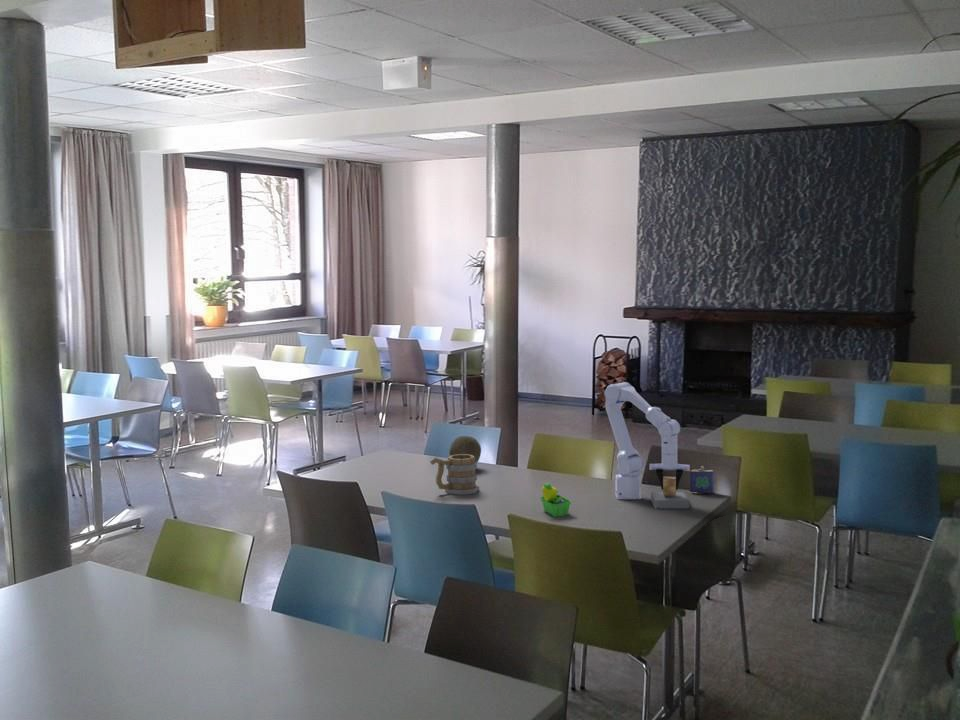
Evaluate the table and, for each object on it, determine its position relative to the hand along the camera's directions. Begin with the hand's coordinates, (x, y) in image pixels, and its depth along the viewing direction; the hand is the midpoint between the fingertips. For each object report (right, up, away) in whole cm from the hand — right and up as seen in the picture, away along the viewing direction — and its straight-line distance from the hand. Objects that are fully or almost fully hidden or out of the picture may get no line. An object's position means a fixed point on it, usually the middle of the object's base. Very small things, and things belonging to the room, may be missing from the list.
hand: (669, 489), depth 325 cm
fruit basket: (-43, -8, -8) cm, 45 cm away
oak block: (0, -2, 0) cm, 2 cm away
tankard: (-81, -5, +27) cm, 85 cm away
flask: (+16, -4, +16) cm, 23 cm away
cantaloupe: (-77, -1, +67) cm, 102 cm away
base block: (0, -6, +1) cm, 6 cm away
